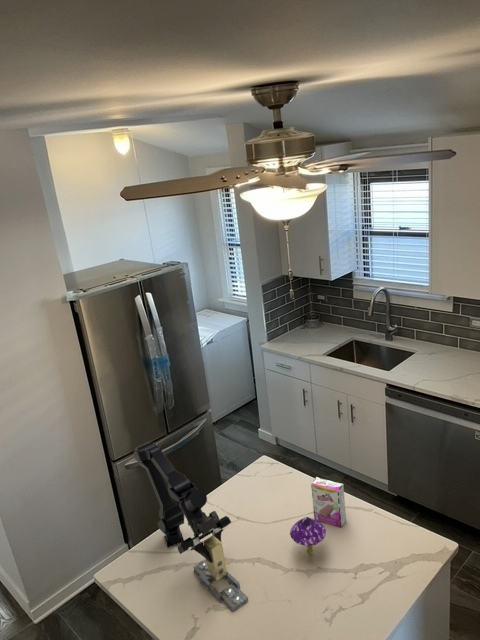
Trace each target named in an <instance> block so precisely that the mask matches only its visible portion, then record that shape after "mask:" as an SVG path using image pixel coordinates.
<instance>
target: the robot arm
mask: <svg viewBox="0 0 480 640" xmlns="http://www.w3.org/2000/svg"><path fill="white" fill-rule="evenodd" d="M133 457H134V459H135V461H137V464H138V465H139V466H140V467H142V468H143V469H145V472H146V473H147V476H148V479H149V481H150V483H151V487H152V489H153V492H154V494H155V496H156V499H157V501H158V504H159V510H158V511H159V513H158V516H159V519H160V520H159V521H158V522H157V523H156V524H157V527H158V530H160V531H161V532H162V533H163V534H164V540H165V544H166V547H167V548H170V547H172V546H176V545H177V547H176V548H177V552H178V553H179V555H182V554H183V553H185V552H187V551H188V550H189V549H190V551H195V552H196V553H198V554H200V555H201V556H202V557H203V558H204V560H206V559H207V560H208V561H209V562H210V563H212V559H211V557H210V555H209V554H208V552H207V550H206V549H205V547H204V543H203V541H204V540H202V539H204V538H206V537H208V536H209V535H212V536H213V535H214V536H215V537H216V538H217V539H218V540H219V541H220V542H222V532H224V528H226V527H227V526H228V525H230V524H232V521H231V519H230V517H229V516H227V515H224V516H223V517H221V518H220V516H219V515H218V513H217V511H216V510H213V511H211V512H209V514H208V516H207V514H206V513H205V512H204V511H203V510H202V509H203V507H204V506H206V503H207V501H208V496H207V494H206V492H204V490H201V489H199V487H198V485H196V484H195V483H194V482H192V481H191V479H189V478H188V477H187V476H186V475H185V474H184V473H181V472H178V470H176V468H175V467H174V466H173V464H172V463H171V461H170V460H169V459H168V457H167V456H166V455H165V453H164V452H163V450H162V447H161V446H160V445H159V444H158V443H157V442H152V441H147V442H145V443H144V444H141V445H138V446H137V447H135V448H134V451H133ZM165 481H166V482H165ZM166 484H167V485H166ZM173 500H174V501H176V502H177V503H178V502H179V504H177V503H176V502H174V501H173ZM185 519H186V521H187V525H188V527H190V529H191V531H192V533H193V537H191V536H190V537H188V538H185V539H184V537H183V534H182V530H181V527H180V526H181V525H184V524H185ZM201 540H202V541H201Z"/></svg>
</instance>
